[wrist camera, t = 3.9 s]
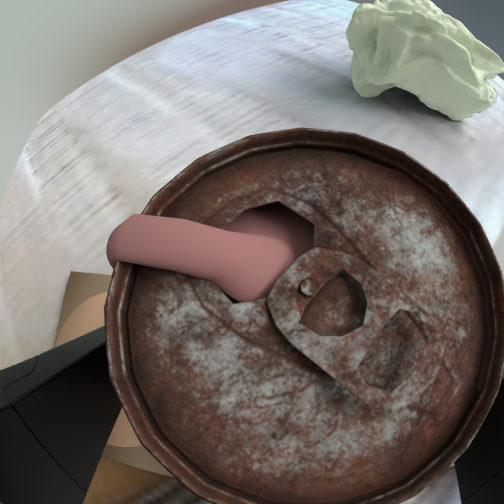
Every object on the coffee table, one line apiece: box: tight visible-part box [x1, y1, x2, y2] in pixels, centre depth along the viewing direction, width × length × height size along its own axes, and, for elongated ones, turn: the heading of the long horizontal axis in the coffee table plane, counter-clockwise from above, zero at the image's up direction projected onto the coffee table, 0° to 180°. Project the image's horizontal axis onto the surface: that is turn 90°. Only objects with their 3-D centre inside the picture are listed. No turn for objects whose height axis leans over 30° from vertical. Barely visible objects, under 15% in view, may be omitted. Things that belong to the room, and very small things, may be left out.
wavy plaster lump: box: [346, 0, 504, 121], centre depth 21 cm, size 18×13×16 cm
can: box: [104, 128, 504, 504], centre depth 9 cm, size 6×6×14 cm
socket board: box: [55, 271, 454, 477], centre depth 15 cm, size 30×12×1 cm, turn 86°
